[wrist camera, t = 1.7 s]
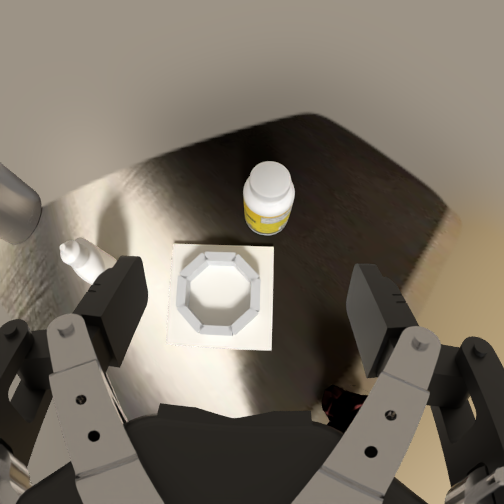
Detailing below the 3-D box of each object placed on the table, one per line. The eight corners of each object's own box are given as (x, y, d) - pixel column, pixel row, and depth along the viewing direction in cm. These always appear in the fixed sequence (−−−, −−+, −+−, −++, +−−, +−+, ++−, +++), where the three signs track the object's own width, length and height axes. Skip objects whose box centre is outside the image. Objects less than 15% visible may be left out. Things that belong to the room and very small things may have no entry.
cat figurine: (374, 400, 33) (423, 421, 21) (338, 442, 31) (372, 481, 20) (334, 367, 34) (371, 379, 22) (295, 411, 32) (315, 444, 21)
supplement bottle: (241, 199, 39) (238, 157, 30) (283, 193, 40) (292, 151, 30) (247, 239, 38) (247, 207, 28) (291, 233, 38) (304, 199, 29)
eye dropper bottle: (124, 248, 38) (79, 213, 26) (131, 291, 36) (84, 270, 25) (95, 257, 37) (44, 226, 26) (101, 299, 36) (47, 281, 24)
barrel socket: (167, 344, 34) (160, 344, 32) (174, 245, 38) (168, 237, 35) (271, 350, 34) (272, 351, 32) (273, 248, 38) (275, 240, 35)
